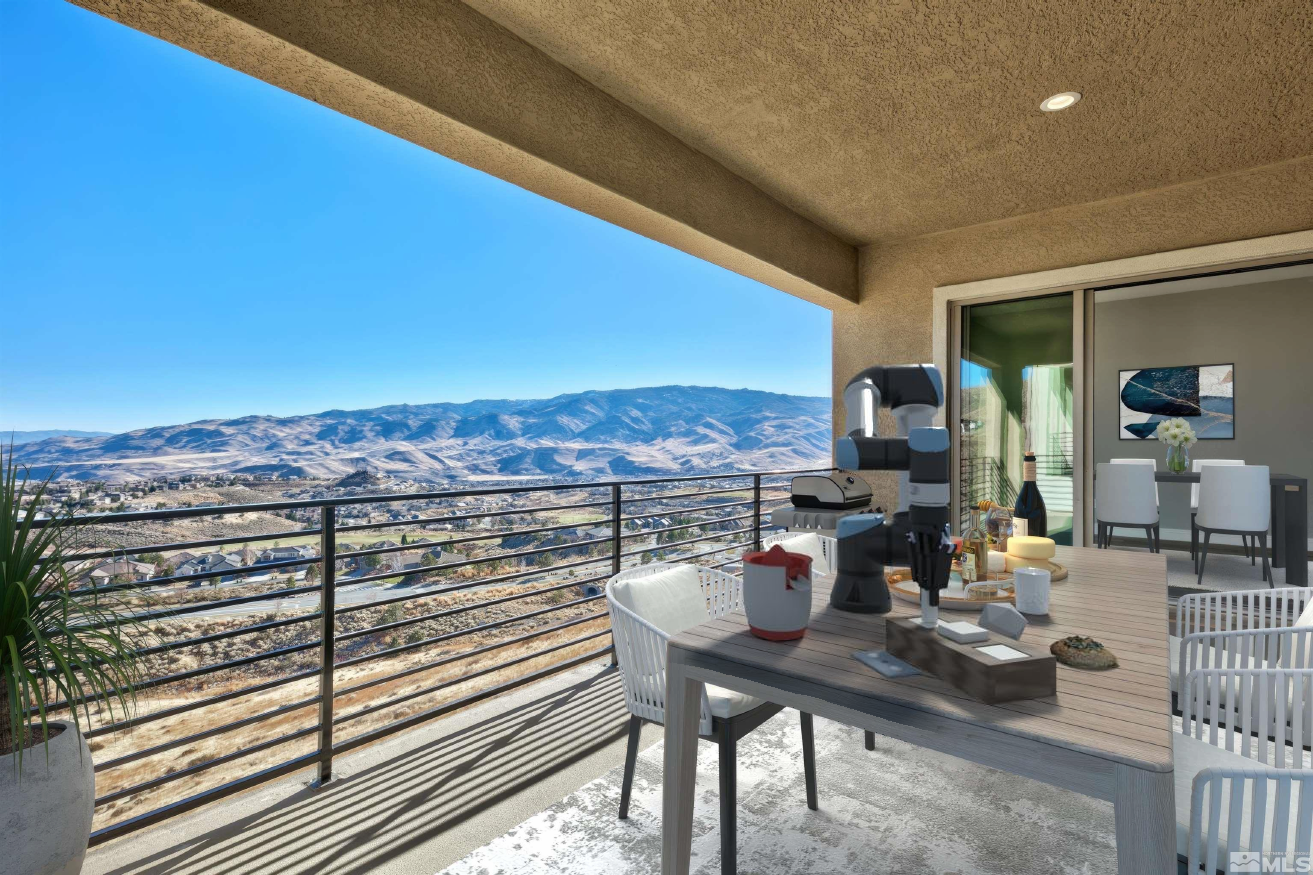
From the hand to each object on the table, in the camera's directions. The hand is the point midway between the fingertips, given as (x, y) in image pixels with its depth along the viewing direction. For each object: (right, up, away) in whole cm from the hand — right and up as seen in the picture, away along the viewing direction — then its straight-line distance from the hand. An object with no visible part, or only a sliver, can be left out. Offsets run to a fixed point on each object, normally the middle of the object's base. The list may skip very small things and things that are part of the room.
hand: (929, 620), depth 126 cm
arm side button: (0, -3, 0) cm, 3 cm away
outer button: (+5, -3, -17) cm, 18 cm away
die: (+19, -7, +8) cm, 21 cm away
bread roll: (+28, -7, -3) cm, 29 cm away
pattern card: (-11, -7, -5) cm, 14 cm away
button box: (+3, -7, -9) cm, 11 cm away
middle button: (+2, -2, -9) cm, 9 cm away
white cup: (+38, -6, +29) cm, 48 cm away
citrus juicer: (-28, -7, +13) cm, 31 cm away
